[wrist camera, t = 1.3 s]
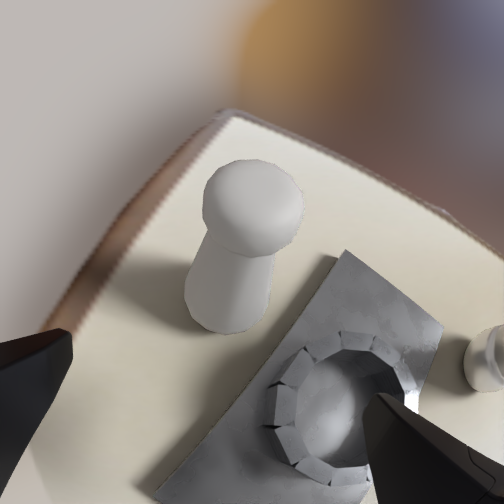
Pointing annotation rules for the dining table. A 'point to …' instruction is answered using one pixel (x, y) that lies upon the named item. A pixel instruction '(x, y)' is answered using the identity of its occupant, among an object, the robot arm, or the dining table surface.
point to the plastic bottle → (486, 360)
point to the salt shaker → (241, 243)
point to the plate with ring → (314, 399)
